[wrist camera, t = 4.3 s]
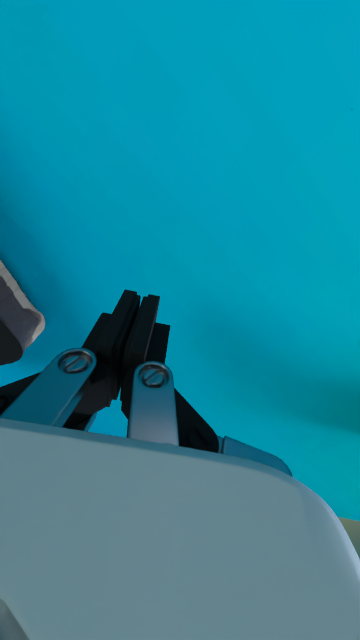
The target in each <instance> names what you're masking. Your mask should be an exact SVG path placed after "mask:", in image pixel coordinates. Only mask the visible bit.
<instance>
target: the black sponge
mask: <svg viewBox="0 0 360 640" xmlns="http://www.w3.org/2000/svg"><path fill="white" fill-rule="evenodd" d="M44 327H45V320H44V317H43V315H42V313H40V312H39V311H38V310H37V309H35V307H34V306H33V305H32V304H31V303H30V302H29V300H28V299H27V297H26V296H25V294H24V293H23V292H22V291H21V289H20V287H19V286H18V284H17V282H16V280H15V279H14V278H13V277H12V276H11V274H10V272H9V271H8V270H7V269H6V268H5V266H4V264H3V263H2V261H1V260H0V365H4V364H9V363H13V362H15V361H18V360H20V358H21V357H22V355H23V353H24V350H25V349H26V348H27V347H28V346H30V345H31V344H32V342H33V341H34V340H35V339H36V337H37V336H38V335H39V334H40V333H41V332H42V331H43V330H44Z"/></svg>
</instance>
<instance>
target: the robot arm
mask: <svg viewBox="0 0 360 640" xmlns="http://www.w3.org/2000/svg"><path fill="white" fill-rule="evenodd" d="M140 298H141V296H140V295H137V292H135V291H130V290H124V292H123V294H122V296H121V298H120V300H119V302H118V304H117V305H116V307H115V309H114V311H113V313H112V314H108V313H102V314H101V315H100V317H99V319H98V321H97V322H96V324H95V326H94V327H93V329H92V331H91V332H90V334H89V336H88V337H87V339H86V341H85V342H84V344H83V346H82V347H81V348H71V349H67V350H65V351H63V352H61V353H60V354H59V355H57V356H56V357H55V358H54V359H53V360H52V361H51V362H50V364H49V365H48V366H47V367H46V368H45V369H44V370H43V371H42V372H40V373H37V374H34V375H32V376H29V377H26V378H24V379H21V380H18V381H16V382H13V383H10V384H7V385H5V386H2V387H0V640H360V559H359V557H358V555H357V553H356V551H355V549H354V547H353V545H352V543H351V541H350V539H349V537H348V535H347V533H346V531H345V529H344V528H343V526H342V524H341V522H340V521H339V519H338V518H337V516H336V514H335V513H334V512H333V510H332V509H331V508H330V507H329V505H328V504H327V503H326V502H325V501H324V500H323V499H322V498H321V497H320V496H319V495H317V494H316V493H315V492H314V491H312V490H311V489H310V488H308V487H307V486H306V485H304V484H303V483H301V482H299V481H298V480H296V479H295V478H293V476H292V473H291V471H290V469H289V468H288V466H287V465H286V464H285V463H284V462H283V461H282V460H281V459H279V458H278V457H276V456H274V455H272V454H269V453H267V452H264V451H262V450H259V449H257V448H254V447H252V446H249V445H247V444H245V443H242V442H240V441H237V440H235V439H232V438H230V437H227V436H225V437H224V438H222V437H220V436H217V435H216V433H215V432H214V431H213V429H212V428H211V427H210V426H209V425H208V424H207V423H206V421H205V420H204V419H203V418H202V417H201V416H200V415H199V414H198V413H197V412H196V411H195V410H194V409H193V407H192V406H191V405H190V404H189V403H188V402H187V401H186V400H185V399H184V398H183V397H182V396H181V394H180V393H179V392H178V391H177V390H176V389H175V388H174V381H173V374H172V371H171V370H170V369H169V367H167V366H166V365H165V357H166V351H167V344H168V337H169V331H170V325H165V324H160V323H156V317H157V311H158V305H159V299H160V296H155V295H150V294H149V295H148V297H145V296H144V297H143V300H142V302H141V305H140ZM139 307H140V308H139ZM120 388H121V394H120V401H122V406H121V410H122V412H123V413H124V415H125V416H126V418H127V419H128V426H127V438H124V437H118V436H112V435H105V434H99V433H93V432H88V431H89V429H90V427H91V425H92V423H93V422H94V420H95V418H96V415H97V412H98V411H99V410H101V409H103V408H105V407H110V404H111V401H112V399H113V400H117V397H118V394H119V391H120Z"/></svg>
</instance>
